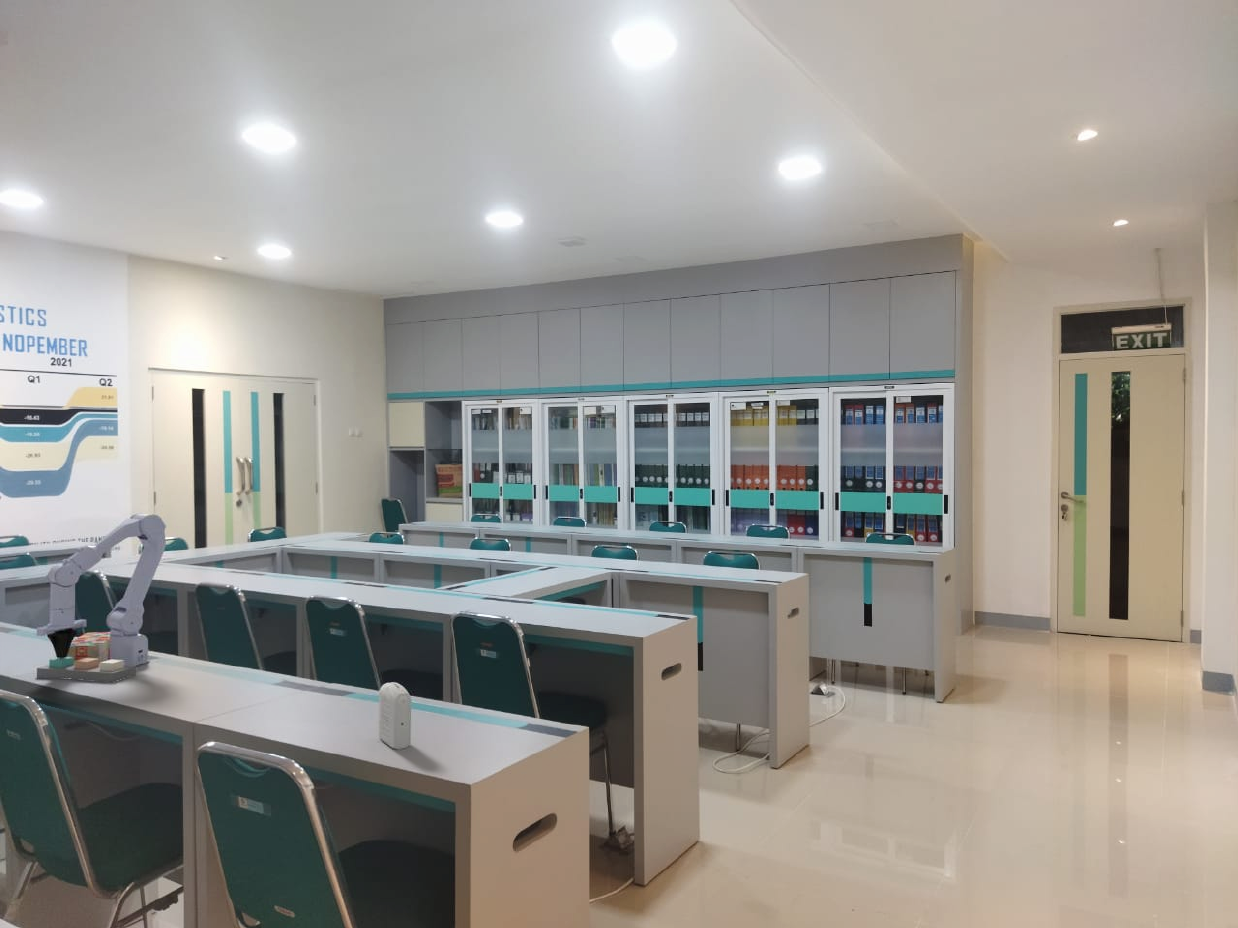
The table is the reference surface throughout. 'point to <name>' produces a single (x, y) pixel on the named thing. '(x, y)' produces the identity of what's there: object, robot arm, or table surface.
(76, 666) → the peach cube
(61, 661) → the teal button
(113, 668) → the cream button
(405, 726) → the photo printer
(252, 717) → the table surface
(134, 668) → the button panel
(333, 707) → the table surface
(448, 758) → the table surface
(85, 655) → the stack of blocks
